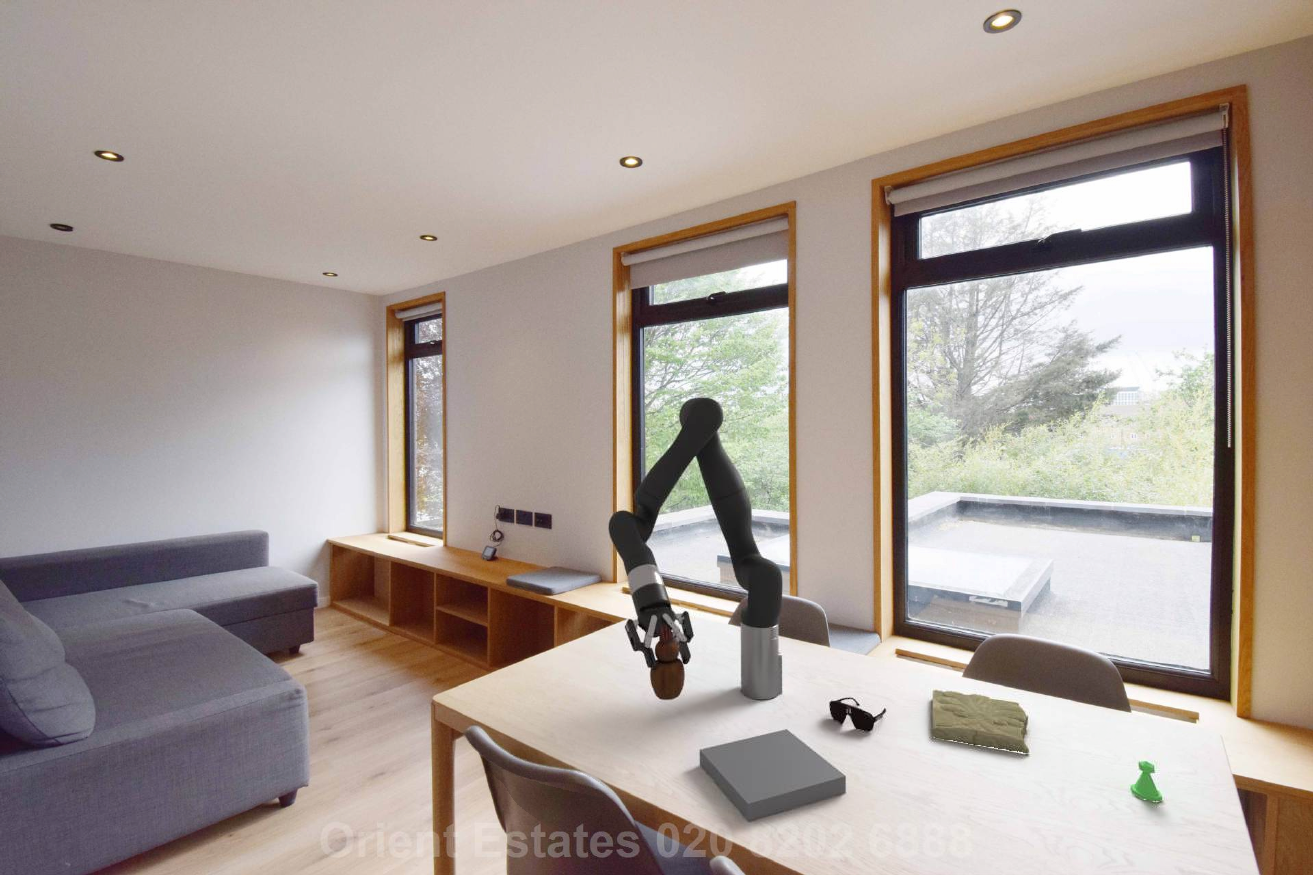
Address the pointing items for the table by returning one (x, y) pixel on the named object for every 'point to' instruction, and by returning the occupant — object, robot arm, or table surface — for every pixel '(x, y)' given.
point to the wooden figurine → (667, 667)
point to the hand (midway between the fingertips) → (670, 665)
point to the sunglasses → (853, 714)
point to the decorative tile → (979, 720)
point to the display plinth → (771, 774)
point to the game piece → (1146, 783)
